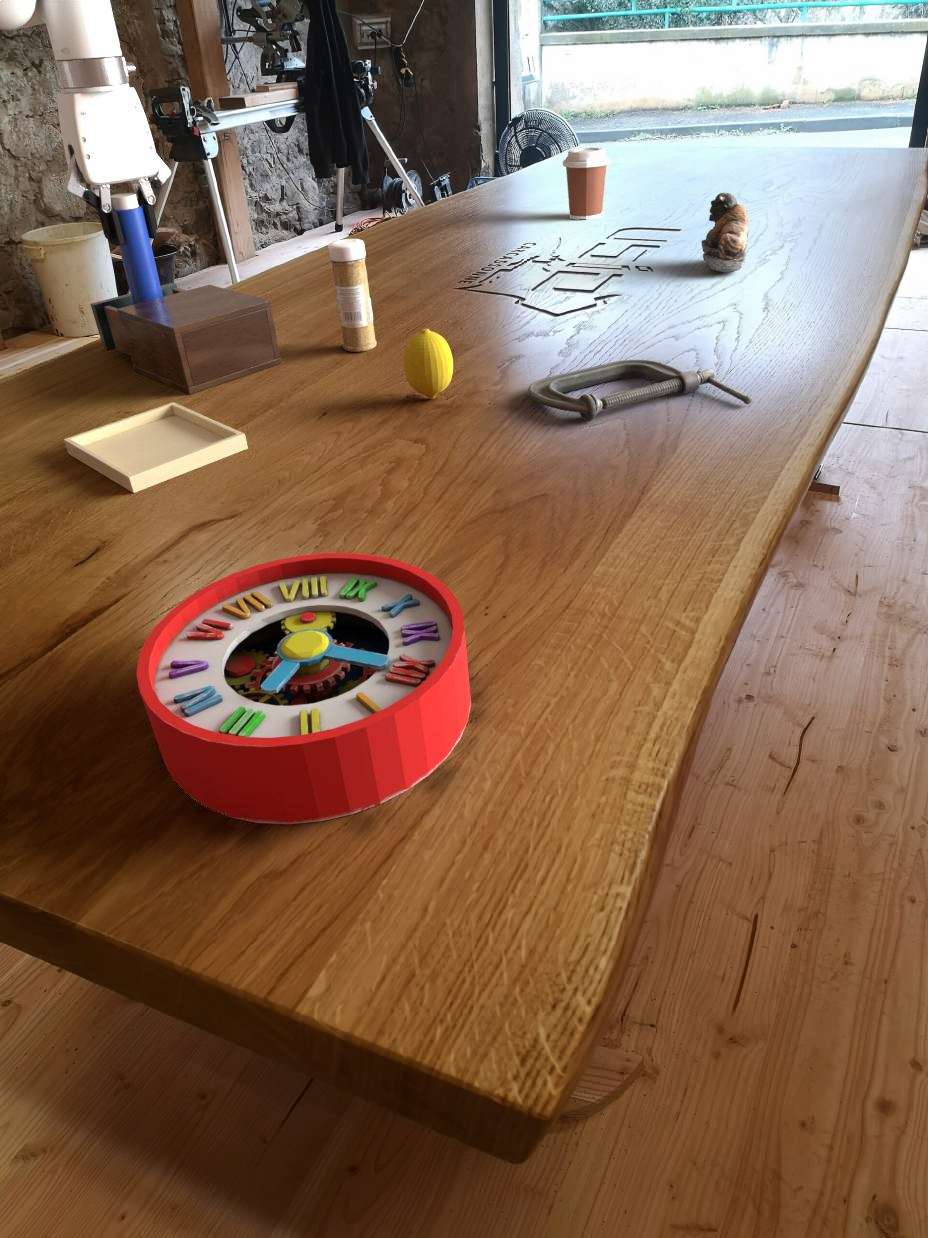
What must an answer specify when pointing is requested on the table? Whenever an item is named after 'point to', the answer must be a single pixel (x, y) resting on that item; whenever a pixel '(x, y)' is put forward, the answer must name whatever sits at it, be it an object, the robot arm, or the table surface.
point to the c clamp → (589, 405)
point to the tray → (155, 446)
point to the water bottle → (136, 249)
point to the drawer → (110, 319)
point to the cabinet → (200, 337)
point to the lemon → (428, 363)
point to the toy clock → (307, 686)
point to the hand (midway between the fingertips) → (133, 239)
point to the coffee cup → (586, 181)
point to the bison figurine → (726, 235)
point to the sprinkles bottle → (352, 294)
